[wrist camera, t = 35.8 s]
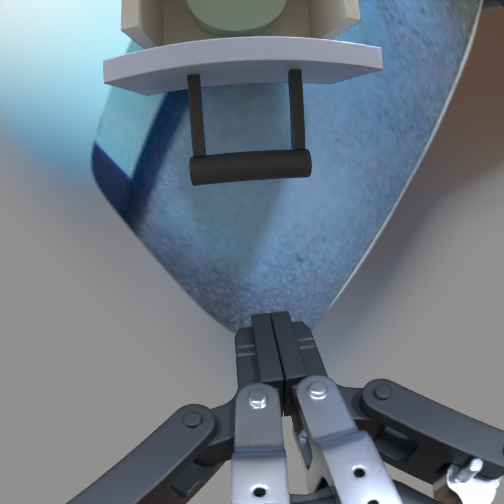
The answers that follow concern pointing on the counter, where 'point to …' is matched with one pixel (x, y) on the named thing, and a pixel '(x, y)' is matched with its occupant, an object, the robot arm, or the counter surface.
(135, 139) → the counter surface
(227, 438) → the robot arm
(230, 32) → the pale green disc
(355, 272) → the counter surface
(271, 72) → the drawer
